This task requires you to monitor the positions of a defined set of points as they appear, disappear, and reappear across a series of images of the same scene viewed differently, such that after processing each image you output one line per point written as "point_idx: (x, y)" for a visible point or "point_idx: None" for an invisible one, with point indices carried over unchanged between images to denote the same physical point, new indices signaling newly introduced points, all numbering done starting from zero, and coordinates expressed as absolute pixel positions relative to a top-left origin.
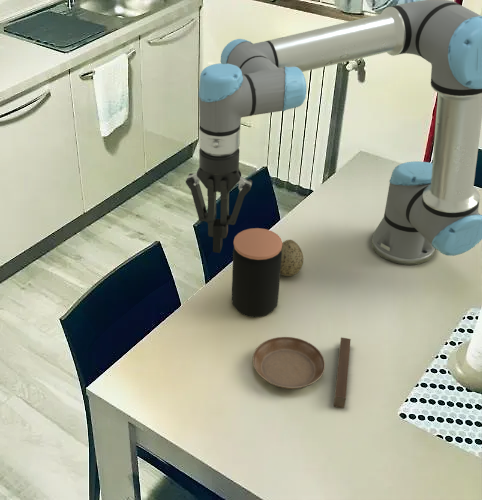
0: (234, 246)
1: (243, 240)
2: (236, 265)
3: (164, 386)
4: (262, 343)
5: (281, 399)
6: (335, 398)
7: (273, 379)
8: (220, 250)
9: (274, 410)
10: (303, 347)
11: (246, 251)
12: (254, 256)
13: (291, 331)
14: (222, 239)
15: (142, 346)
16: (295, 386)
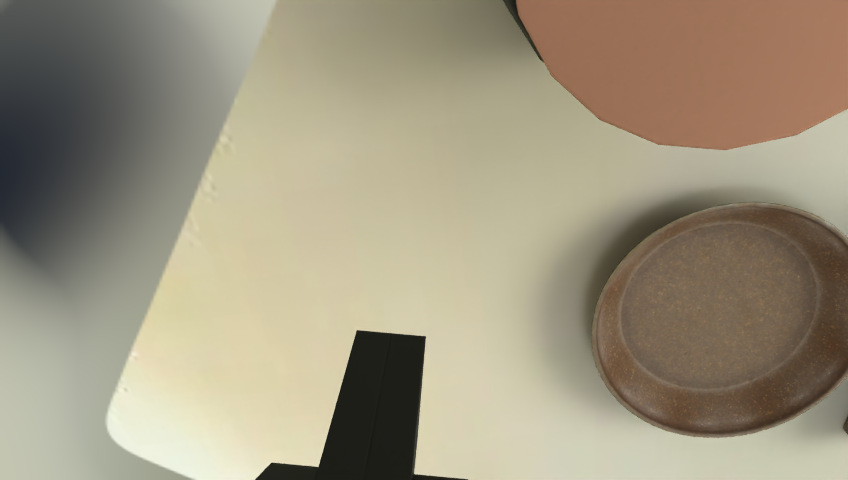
0: (517, 7)
1: None
2: (528, 39)
3: (305, 411)
4: (633, 253)
5: None
6: None
7: (658, 362)
8: (418, 422)
9: (651, 456)
10: (799, 225)
11: (628, 90)
12: (694, 147)
13: None
14: (420, 387)
15: (175, 261)
16: (732, 383)
